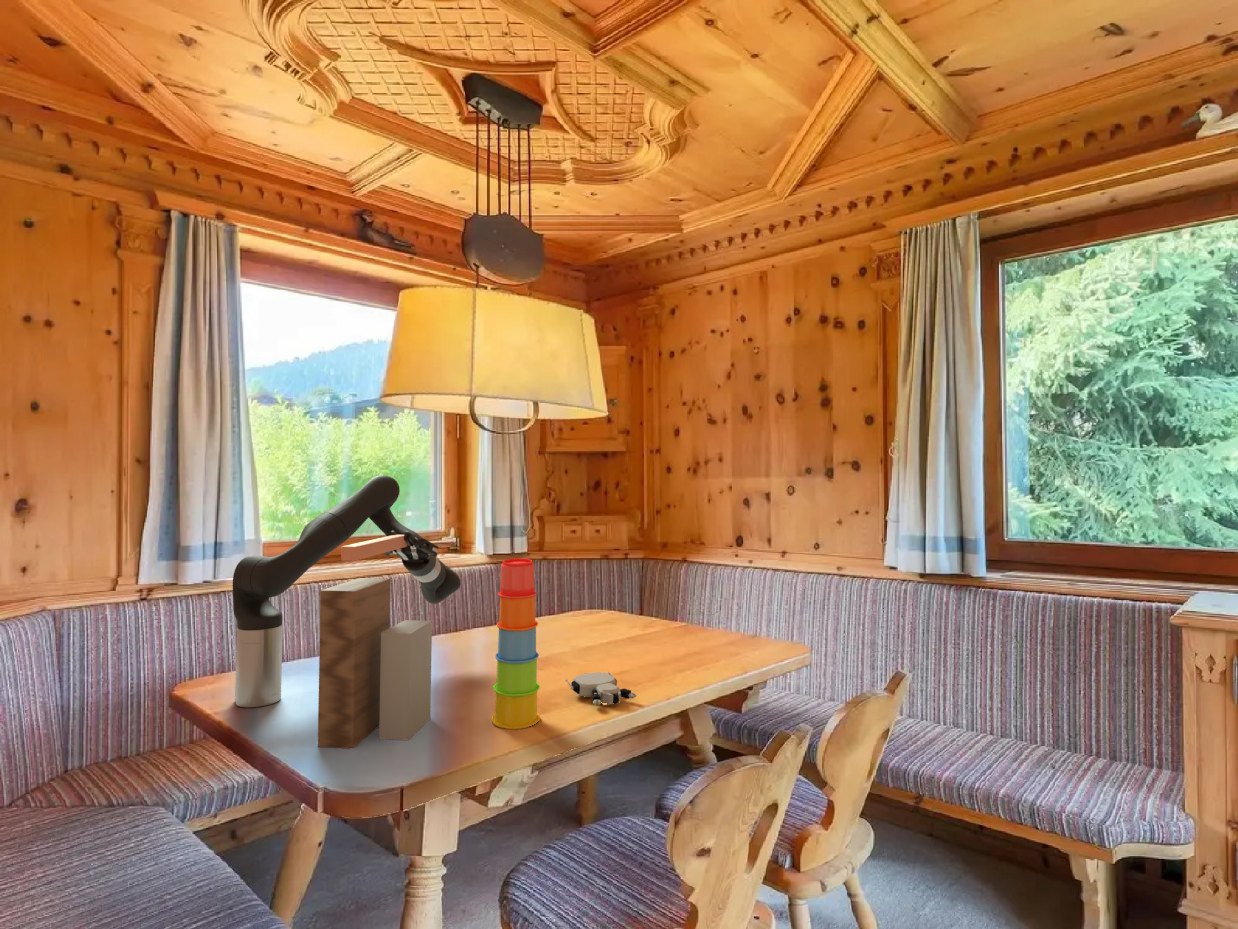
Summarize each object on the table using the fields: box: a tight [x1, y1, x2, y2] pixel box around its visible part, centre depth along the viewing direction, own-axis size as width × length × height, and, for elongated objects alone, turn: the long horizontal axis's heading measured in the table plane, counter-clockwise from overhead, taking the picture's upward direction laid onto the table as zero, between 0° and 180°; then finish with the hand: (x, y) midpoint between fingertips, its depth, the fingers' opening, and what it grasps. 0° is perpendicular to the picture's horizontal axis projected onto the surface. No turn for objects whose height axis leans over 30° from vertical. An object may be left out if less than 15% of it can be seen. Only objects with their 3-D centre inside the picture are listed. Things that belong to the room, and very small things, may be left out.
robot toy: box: [564, 671, 637, 706], centre depth 159 cm, size 12×4×15 cm
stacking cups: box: [491, 557, 541, 730], centre depth 145 cm, size 10×10×35 cm
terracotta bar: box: [340, 535, 407, 562], centre depth 147 cm, size 3×26×3 cm, turn 175°
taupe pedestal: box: [378, 619, 433, 741], centre depth 140 cm, size 6×12×21 cm, turn 175°
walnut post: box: [317, 577, 391, 749], centre depth 137 cm, size 7×16×30 cm, turn 175°
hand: (398, 535), depth 158 cm, fingers closed on terracotta bar, 2 cm apart
